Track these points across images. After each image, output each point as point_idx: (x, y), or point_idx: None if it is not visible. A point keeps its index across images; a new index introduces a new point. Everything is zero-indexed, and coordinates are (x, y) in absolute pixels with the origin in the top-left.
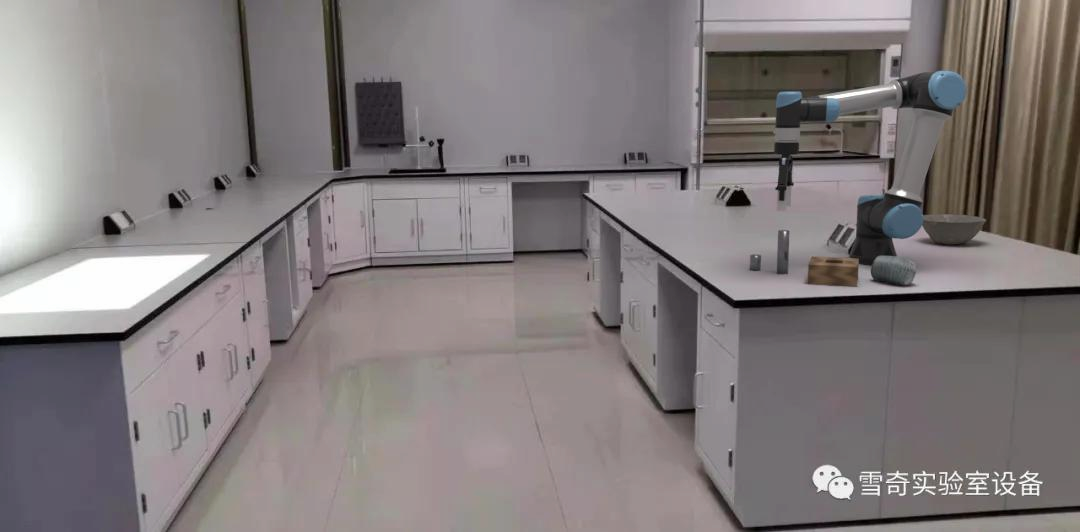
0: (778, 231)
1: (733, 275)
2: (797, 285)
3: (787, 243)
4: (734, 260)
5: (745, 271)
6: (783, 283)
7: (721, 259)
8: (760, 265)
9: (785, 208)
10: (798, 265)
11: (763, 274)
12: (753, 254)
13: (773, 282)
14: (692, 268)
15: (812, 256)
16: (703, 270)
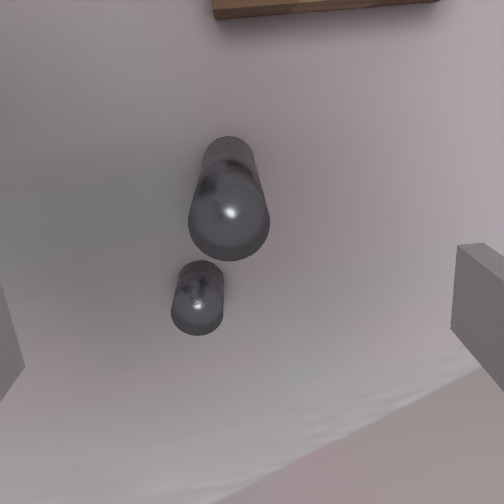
0: (250, 253)
1: (341, 329)
2: (479, 44)
3: (247, 170)
4: (35, 397)
5: (247, 308)
6: (449, 113)
7: (41, 441)
8: (202, 269)
9: (501, 258)
10: (3, 124)
11: (283, 230)
12: (182, 325)
13: (438, 158)
14: (261, 477)
15: (214, 6)
16: (283, 439)
